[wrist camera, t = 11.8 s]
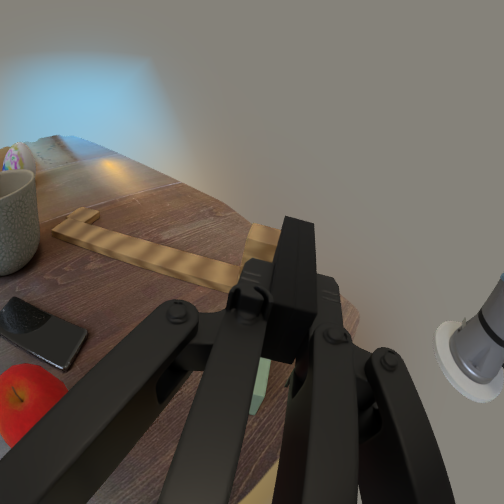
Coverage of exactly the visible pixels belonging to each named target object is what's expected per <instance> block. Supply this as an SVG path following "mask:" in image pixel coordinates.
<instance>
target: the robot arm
mask: <svg viewBox="0 0 504 504" xmlns="http://www.w3.org/2000/svg"><path fill="white" fill-rule="evenodd" d="M315 251H316V250H315V233H314V223H310V222H306V221H303V220H299V219H295V218H292V217H288V216H285V218H284V222H283V225H282V229H281V233H280V236H279V240H278V243H277V247H276V251H275V254H274V258H273V261H272V263H271V262H267V261H264V260H260V259H256V258H251V259H249V260H248V261H247V262H245V264H244V267H243V269H242V272H241V275H240V278H239V280H238V283H237V284H236V285H234V286H233V287H232V288H231V289H230V291H229V295H228V300H227V306H226V308H225V309H223V310H221V311H219V312H215V313H199V312H198V310H197V309H196V307H195V306H194V305H192V304H191V303H190V302H187V301H184V300H176V299H173V300H169V301H166V302H164V303H162V304H161V305H159V306H158V307H157V308H156V309H155V310H154V311H153V312H152V313H151V314H150V315H148V316H147V317H146V318H145V319H144V320H143V321H142V322H141V323H140V324H139V325H138V326H137V327H135V328H134V329H133V330H132V331H131V332H130V333H129V334H128V335H127V336H126V337H125V338H124V339H123V340H122V341H120V342H119V343H118V344H117V345H116V346H115V347H114V348H113V349H112V350H111V351H110V352H109V353H108V354H107V355H106V356H105V357H103V358H102V359H101V360H100V361H99V362H98V363H97V364H96V365H95V366H94V367H93V368H92V369H91V370H90V371H89V372H88V373H87V374H86V375H85V376H84V377H83V378H82V379H80V380H79V381H78V382H77V383H76V384H75V385H74V386H73V387H72V388H71V389H70V390H69V391H68V392H67V393H66V394H65V395H64V396H63V397H62V398H61V399H60V400H59V401H58V402H57V403H56V404H55V405H54V406H53V407H52V408H51V409H50V410H49V411H48V412H47V413H46V414H45V415H44V416H43V417H42V418H41V419H40V420H39V421H38V422H37V423H36V424H35V425H34V426H33V427H32V428H31V429H30V430H29V431H28V432H27V433H26V434H25V435H24V436H23V437H22V438H21V439H20V440H19V441H18V442H17V443H16V444H15V445H14V446H13V447H12V448H11V450H10V451H9V452H8V453H7V454H6V455H5V456H4V457H3V458H2V459H1V460H0V504H86V503H87V502H88V501H89V499H90V498H91V497H92V496H93V495H94V494H95V492H96V491H97V490H98V489H99V488H100V487H101V485H102V484H103V483H104V482H105V481H106V479H107V478H108V477H109V476H110V475H111V474H112V472H113V471H114V470H115V469H116V468H117V466H118V465H119V464H120V463H121V461H122V460H123V459H124V458H125V457H126V455H127V454H128V453H129V452H130V451H131V449H132V448H133V447H134V446H135V444H136V443H137V442H138V441H139V439H140V438H141V437H142V436H143V434H144V433H145V432H146V431H147V430H148V428H149V427H150V426H151V425H152V423H153V422H154V421H155V420H156V418H157V417H158V416H159V414H160V413H161V412H162V411H163V409H164V408H165V407H166V406H167V404H168V403H169V402H170V400H171V399H172V398H173V397H174V395H175V394H176V393H177V392H178V390H179V389H180V388H181V386H182V385H183V384H184V383H185V381H186V380H187V379H188V377H189V376H190V375H191V373H192V372H193V371H204V372H203V375H202V378H201V380H200V383H199V386H198V389H197V392H196V394H195V397H194V400H193V403H192V406H191V409H190V411H189V414H188V417H187V420H186V423H185V425H184V428H183V431H182V434H181V437H180V440H179V442H178V445H177V448H176V451H175V454H174V457H173V459H172V462H171V465H170V468H169V471H168V474H167V476H166V479H165V482H164V485H163V488H162V491H161V494H160V497H159V499H158V502H157V504H228V502H229V498H230V494H231V490H232V486H233V481H234V477H235V473H236V469H237V465H238V460H239V456H240V451H241V447H242V443H243V438H244V434H245V429H246V424H247V420H248V415H249V411H250V406H251V401H252V396H253V391H254V387H255V382H256V377H257V372H258V367H259V362H260V357H261V358H265V359H269V360H274V361H278V362H283V363H287V364H292V363H293V361H294V359H295V357H296V362H295V368H294V369H293V371H292V373H291V375H290V376H289V378H288V380H287V382H286V384H285V387H288V385H289V393H288V401H287V409H286V417H285V424H284V432H283V439H282V446H281V452H280V459H279V465H278V471H277V477H276V483H275V488H274V494H273V499H272V504H357V496H358V495H357V494H358V485H359V490H360V495H361V500H362V504H455V500H454V496H453V492H452V489H451V485H450V482H449V478H448V475H447V471H446V468H445V465H444V462H443V459H442V456H441V453H440V450H439V447H438V444H437V441H436V438H435V436H434V433H433V430H432V428H431V425H430V422H429V420H428V417H427V415H426V412H425V409H424V407H423V405H422V402H421V400H420V397H419V395H418V392H417V390H416V388H415V385H414V383H413V381H412V379H411V376H410V374H409V372H408V370H407V367H406V365H405V363H404V361H403V359H402V358H401V356H400V355H399V354H398V353H397V352H395V351H394V350H392V349H389V348H385V347H381V348H377V349H376V350H375V351H374V352H373V353H370V352H368V351H366V350H364V349H361V348H359V347H358V346H356V345H354V344H353V343H352V339H351V336H350V334H349V333H348V331H347V330H346V329H345V328H343V319H342V310H341V303H340V302H341V301H340V296H339V295H340V293H339V286H338V284H337V283H336V282H335V280H334V278H332V277H329V276H325V275H321V274H317V272H316V252H315ZM500 278H501V279H500V280H499V282H498V284H497V285H496V287H495V288H494V290H493V291H492V293H491V295H490V296H489V298H488V299H487V301H486V302H485V303H484V305H483V306H482V308H481V309H480V311H479V312H478V313H477V315H475V316H474V317H473V318H471V319H470V320H469V321H467V322H466V319H465V318H464V320H463V321H462V326H460V327H459V328H457V329H456V330H455V332H454V333H453V334H452V336H451V337H450V340H449V348H450V352H451V355H452V357H453V359H454V361H455V363H456V365H457V366H458V368H459V369H460V370H461V371H462V372H463V373H464V375H466V376H467V377H468V378H469V379H471V380H472V381H474V382H476V383H478V384H488V383H490V382H491V381H492V380H493V379H494V378H495V377H496V376H497V374H498V372H499V370H500V368H501V367H503V368H504V273H503V274H502V275H501V277H500Z"/></svg>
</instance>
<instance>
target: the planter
mask: <svg viewBox="0 0 504 504" xmlns="http://www.w3.org/2000/svg"><path fill="white" fill-rule="evenodd" d="M39 241H40V226H39V218H38V209H37V198H36V185H35V175H34V173H33V172H32V171H30V170H26V169H13V170H6V171H2V172H0V276H4V275H9V274H12V273H14V272H16V271H18V270H20V269H21V268H23V267H24V266H25V265H26V264H27V263H28V262H29V261H30V260H31V259H32V257H33V256H34V254H35V252H36V250H37V248H38V245H39Z"/></svg>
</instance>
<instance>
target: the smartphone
mask: <svg viewBox="0 0 504 504" xmlns="http://www.w3.org/2000/svg"><path fill="white" fill-rule="evenodd" d="M0 334H1V335H2V336H4V337H5V338H7V339H8V340H10V341H11V342H13V343H14V344H16V345H18V346H19V347H21V348H22V349H24V350H26V351H27V352H29V353H31V354H33V355H34V356H36V357H38V358H40V359H41V360H43V361H45V362H47V363H49V364H51V365H52V366H54V367H56V368H58V369H60V370H62V371H67V370H68V369H69V367H70V366H71V364H72V362H73V360H74V359H75V357H76V355H77V353H78V352H79V350H80V348H81V347H82V345H83V343H84V341H85V340H86V338H87V336H88V331H87V330H86V329H84V328H82V327H79V326H77V325H74V324H72V323H70V322H67V321H65V320H63V319H61V318H58V317H56V316H54V315H52V314H50V313H47V312H45V311H43V310H41V309H39V308H37V307H35V306H33V305H31V304H29V303H27V302H25V301H23V300H21V299H19V298H17V297H12V298H11V299H10V300H9V302H8V303H7V304H6V305H5V306H4V307H3V309H2V310H1V311H0Z"/></svg>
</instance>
